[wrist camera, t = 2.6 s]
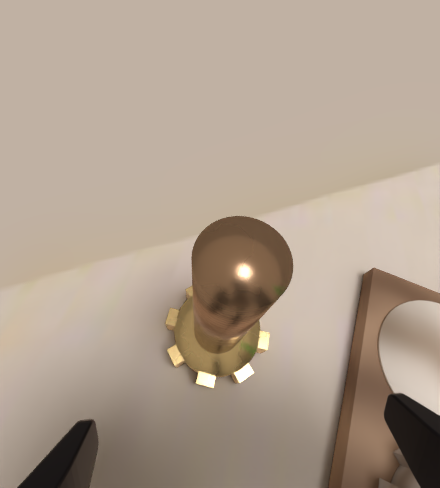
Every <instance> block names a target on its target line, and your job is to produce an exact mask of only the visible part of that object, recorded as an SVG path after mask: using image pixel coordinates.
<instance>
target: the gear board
mask: <svg viewBox="0 0 440 488" xmlns="http://www.w3.org/2000/svg"><path fill="white" fill-rule="evenodd" d="M392 393H403V394H405V395H407V396H408V397H410V398H412V399H413V400H415V401H417V402H418V403H420V404H422V405H423V406H425V407H426V408H428V409H430V410H431V411H433V412H435V413H436V414H438V415H440V293H437V292H435V291H432V290H429V289H427V288H424V287H422V286H419V285H417V284H414V283H412V282H409V281H407V280H404V279H402V278H399V277H397V276H394V275H392V274H389V273H386V272H384V271H381V270H379V269H376V268H372V269H371V270H370V271H368V272H367V273H365V274H364V276H363V282H362V288H361V294H360V300H359V306H358V312H357V318H356V324H355V330H354V336H353V342H352V348H351V354H350V360H349V366H348V372H347V378H346V384H345V390H344V396H343V402H342V408H341V414H340V420H339V426H338V432H337V438H336V444H335V450H334V456H333V462H332V468H331V474H330V480H329V486H328V488H421V487H420V486H419V484H418V482H417V481H416V479H415V477H414V475H413V474H412V472H411V470H410V468H409V466H408V464H407V462H406V460H405V459H404V457H403V455H402V453H401V451H400V449H399V447H398V445H397V443H396V441H395V439H394V437H393V435H392V433H391V432H390V430H389V428H388V426H387V424H386V422H385V419H384V409H385V405H386V401H387V397H388V395H389V394H392Z"/></svg>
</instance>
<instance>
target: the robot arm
mask: <svg viewBox="0 0 440 488" xmlns="http://www.w3.org/2000/svg"><path fill="white" fill-rule="evenodd" d="M384 419H385V422H386V424H387V426H388V428H389V430H390V432H391V433H392V435H393V437H394V439H395V441H396V443H397V445H398V447H399V449H400V451H401V453H402V455H403V457H404V459H405V460H406V462H407V464H408V466H409V468H410V470H411V472H412V474H413V475H414V477H415V479H416V481H417V482H418V484H419V486H420V487H421V488H440V415H438V414H436V413H435V412H433V411H431V410H430V409H428V408H426V407H425V406H423V405H422V404H420V403H418V402H417V401H415V400H413V399H412V398H410V397H408V396H407V395H405V394H403V393H392V394H389V395H388V397H387V401H386V405H385V409H384ZM97 450H98V435H97V429H96V423H95V421H94V420H93V419H89V420H80V421H78V422H77V423H76V424H75V425H74V426H73V427H72V428H71V430H70V431H69V432H68V433H67V434H66V435H65V436H64V437H63V438H62V439H61V441H60V442H59V443H58V444H57V445H56V446H55V447H54V448H53V449H52V450H51V451H50V453H49V454H48V455H47V456H46V457H45V458H44V459H43V460H42V461H41V462H40V463H39V465H38V466H37V467H36V468H35V469H34V470H33V471H32V472H31V473H30V474H29V476H28V477H27V478H26V479H25V480H24V481H23V482H22V483H21V484H20V485H19V486H18V488H89V486H90V482H91V477H92V473H93V468H94V464H95V459H96V455H97Z"/></svg>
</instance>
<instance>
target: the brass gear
mask: <svg viewBox="0 0 440 488" xmlns="http://www.w3.org/2000/svg"><path fill="white" fill-rule="evenodd" d="M292 273H293V259H292V255H291V251H290V249H289V247H288V245H287V243H286V241H285V240H284V238H283V237H282V236H281V235H280V234H279V233H278V232H277V231H276V230H275V229H274V228H272V227H271V226H270V225H268V224H266V223H264V222H262V221H260V220H258V219H254V218H250V217H244V216H233V217H227V218H223V219H220V220H218V221H215V222H214V223H212V224H210V225H209V226H208V227H206V228H205V229H204V230H203V231H202V232H201V234H200V235H199V236H198V238H197V240H196V242H195V244H194V247H193V251H192V286H191V287H189V288H187V289H186V297H187V300H186V301H185V303H184V304H183V305H182V307H181V308H180V310H177V309H173V308H170V310H169V313H168V316H167V319H166V322H165V324H166V326H167V329H168V330H172V331H174V336H175V342H176V344H175V345H174V346H172V347H171V348H169V349H167V351H168V353H169V355H170V357H171V359H172V361H173V363H174V365H175V366H176V368H178V367H179V366H181V365H182V364H184V363H186V364H187V365H188V366H189V367H190V368H191V369H192V370H194V371H195V372H197V373H198V377H197V381H196V384H198V385H202V386H206V387H210V388H213V387H214V382H215V378H217V377H224V376H228V375H231V376H232V378H233V380H234V382H235V383H240V382H242V381H243V380H245V379H246V378H247V377H249V376H250V375H252V374H253V373H254V372H253V370H252V368H251V367H250V365H249V362H250V360H251V359H252V358H253V356H254V354H255V352H257V353H263V352H265V351H266V350H267V349H268V342H269V335H270V333H267V332H263V331H260V324H259V319H260V318H261V317H262V316H263V315H264V314H265V313H266V312H267V311H268V309H269V308H270V307H271V306H272V305H273V304H274V303H275V302H276V301H277V300H278V298H279V297H280V296H281V295H282V294H283V293H284V292H285V290H286V289H287V287H288V285H289V283H290V281H291V278H292Z"/></svg>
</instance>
